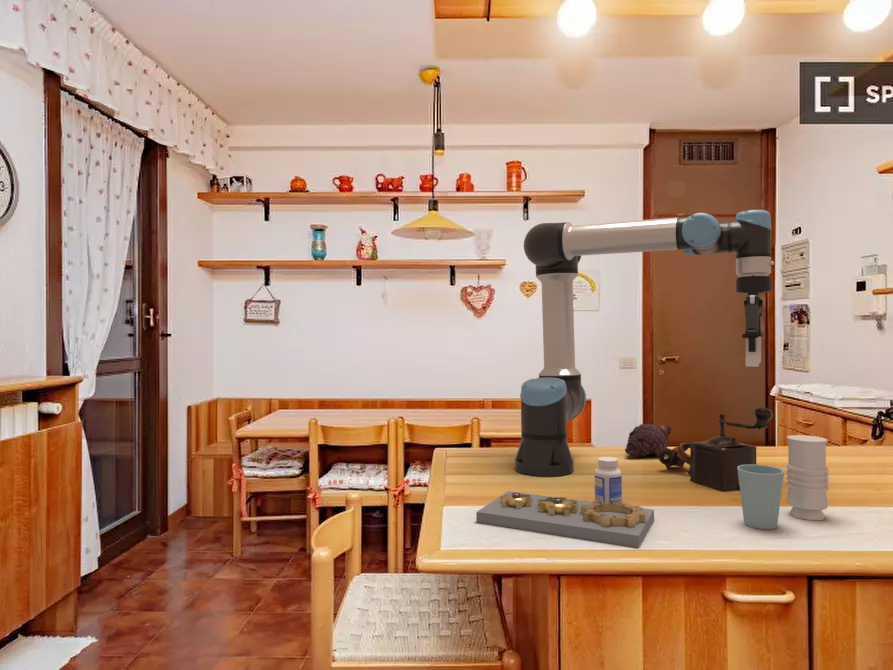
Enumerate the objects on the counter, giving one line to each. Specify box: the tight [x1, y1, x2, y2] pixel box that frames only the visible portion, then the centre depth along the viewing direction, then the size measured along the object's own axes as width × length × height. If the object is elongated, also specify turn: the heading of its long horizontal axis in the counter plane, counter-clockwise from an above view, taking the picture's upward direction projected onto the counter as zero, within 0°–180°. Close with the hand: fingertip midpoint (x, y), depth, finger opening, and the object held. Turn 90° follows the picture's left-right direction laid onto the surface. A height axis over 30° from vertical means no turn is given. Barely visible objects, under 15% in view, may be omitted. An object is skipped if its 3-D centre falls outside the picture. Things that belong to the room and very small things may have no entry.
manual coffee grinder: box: [689, 406, 774, 492], centre depth 141 cm, size 16×11×18 cm
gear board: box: [476, 490, 655, 549], centre depth 115 cm, size 30×16×2 cm, turn 62°
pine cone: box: [624, 423, 672, 458], centre depth 172 cm, size 18×10×10 cm
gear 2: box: [581, 500, 647, 528], centre depth 111 cm, size 12×12×1 cm
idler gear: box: [499, 491, 532, 509], centre depth 119 cm, size 6×6×2 cm
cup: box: [737, 464, 785, 530], centre depth 112 cm, size 8×8×10 cm
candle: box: [786, 434, 829, 521], centre depth 117 cm, size 7×7×15 cm
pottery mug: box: [656, 442, 691, 476], centre depth 152 cm, size 12×10×8 cm
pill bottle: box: [594, 456, 623, 502], centre depth 125 cm, size 5×5×10 cm
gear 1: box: [538, 496, 578, 516], centre depth 116 cm, size 8×8×2 cm
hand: (753, 364), depth 144 cm, fingers open, 13 cm apart
